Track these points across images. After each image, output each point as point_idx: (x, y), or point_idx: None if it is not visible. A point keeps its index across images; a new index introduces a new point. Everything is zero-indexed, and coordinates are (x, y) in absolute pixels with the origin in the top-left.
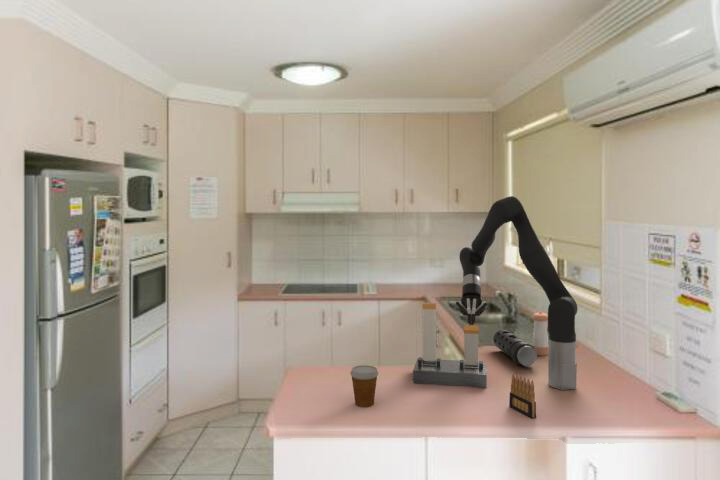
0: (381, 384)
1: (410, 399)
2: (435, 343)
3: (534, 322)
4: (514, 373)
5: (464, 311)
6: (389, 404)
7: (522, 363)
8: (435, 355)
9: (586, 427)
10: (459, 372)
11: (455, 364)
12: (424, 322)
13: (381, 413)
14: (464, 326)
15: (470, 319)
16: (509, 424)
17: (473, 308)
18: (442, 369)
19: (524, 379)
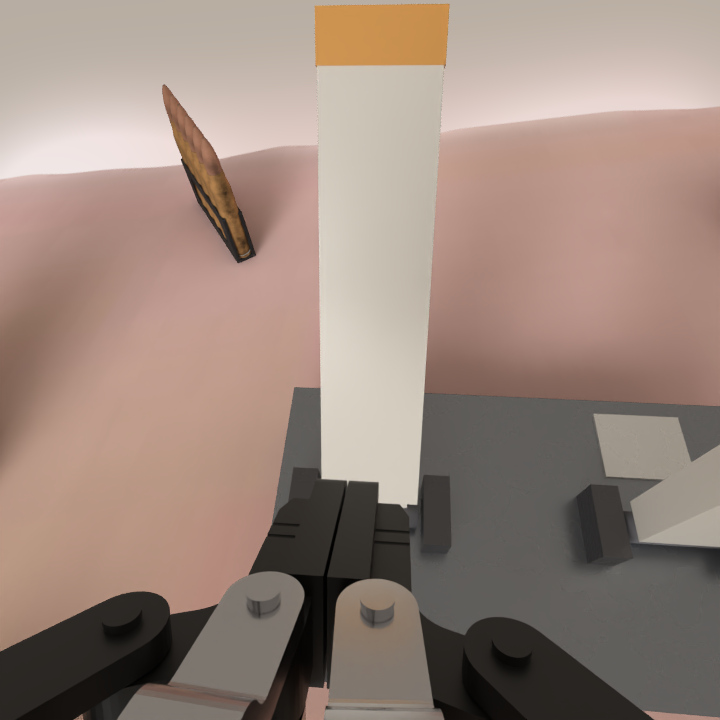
0: None
1: (616, 266)
2: (703, 455)
3: None
4: (201, 142)
5: (510, 631)
6: (673, 221)
7: None
8: (648, 490)
9: (85, 172)
10: (443, 404)
11: (480, 569)
12: None
13: (665, 167)
14: (443, 8)
15: (358, 501)
16: (287, 160)
17: (218, 699)
18: (550, 445)
19: (183, 111)
